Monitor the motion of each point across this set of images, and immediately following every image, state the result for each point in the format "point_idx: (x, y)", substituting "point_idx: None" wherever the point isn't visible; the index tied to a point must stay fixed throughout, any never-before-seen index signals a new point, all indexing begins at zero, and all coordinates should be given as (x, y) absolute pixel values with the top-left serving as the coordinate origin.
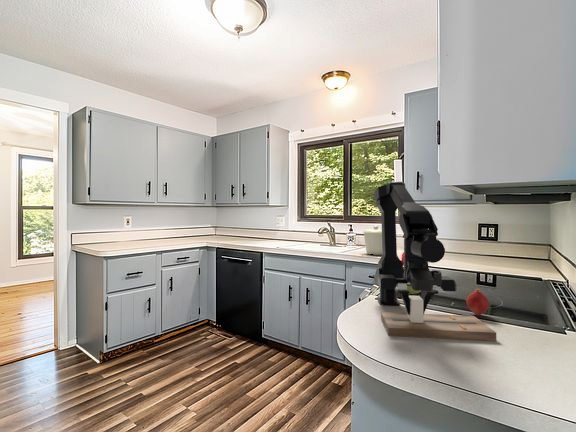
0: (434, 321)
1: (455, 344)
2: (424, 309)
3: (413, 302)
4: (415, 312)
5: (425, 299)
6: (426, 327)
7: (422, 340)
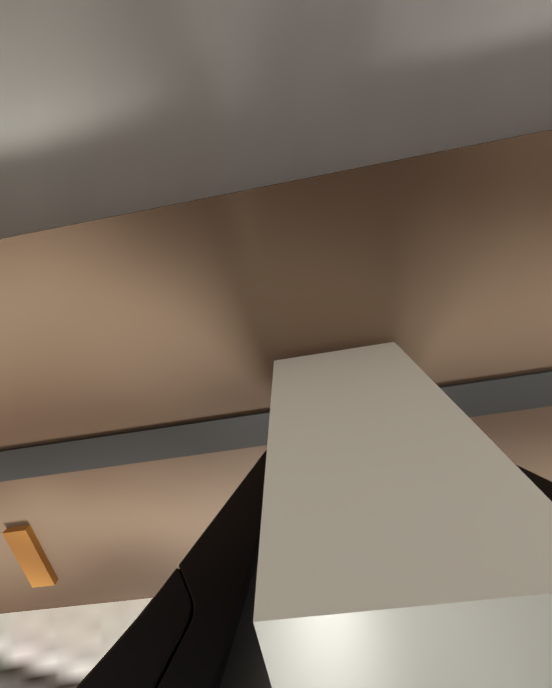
0: (169, 434)
1: (33, 105)
2: (247, 493)
3: (504, 513)
4: (381, 398)
5: (193, 672)
6: (254, 251)
7: (306, 107)
